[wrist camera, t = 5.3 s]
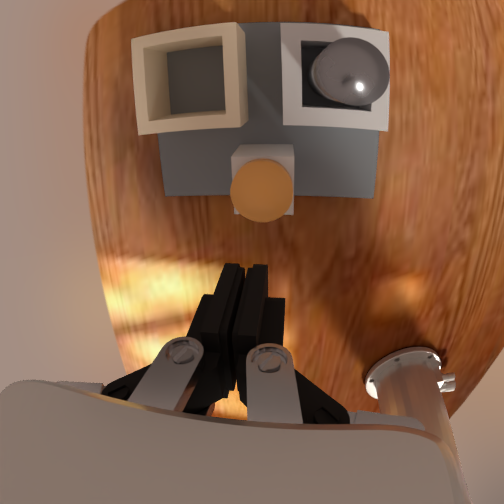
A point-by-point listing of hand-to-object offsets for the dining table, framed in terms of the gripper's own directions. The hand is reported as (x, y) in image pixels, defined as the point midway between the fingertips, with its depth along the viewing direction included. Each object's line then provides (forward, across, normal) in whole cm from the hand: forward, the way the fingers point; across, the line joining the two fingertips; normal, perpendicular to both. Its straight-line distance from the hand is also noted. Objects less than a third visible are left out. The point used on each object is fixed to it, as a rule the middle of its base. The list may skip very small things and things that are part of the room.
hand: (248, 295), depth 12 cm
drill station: (+19, +1, -6) cm, 20 cm away
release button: (+17, +1, -1) cm, 17 cm away
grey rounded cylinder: (+17, -5, -9) cm, 20 cm away
